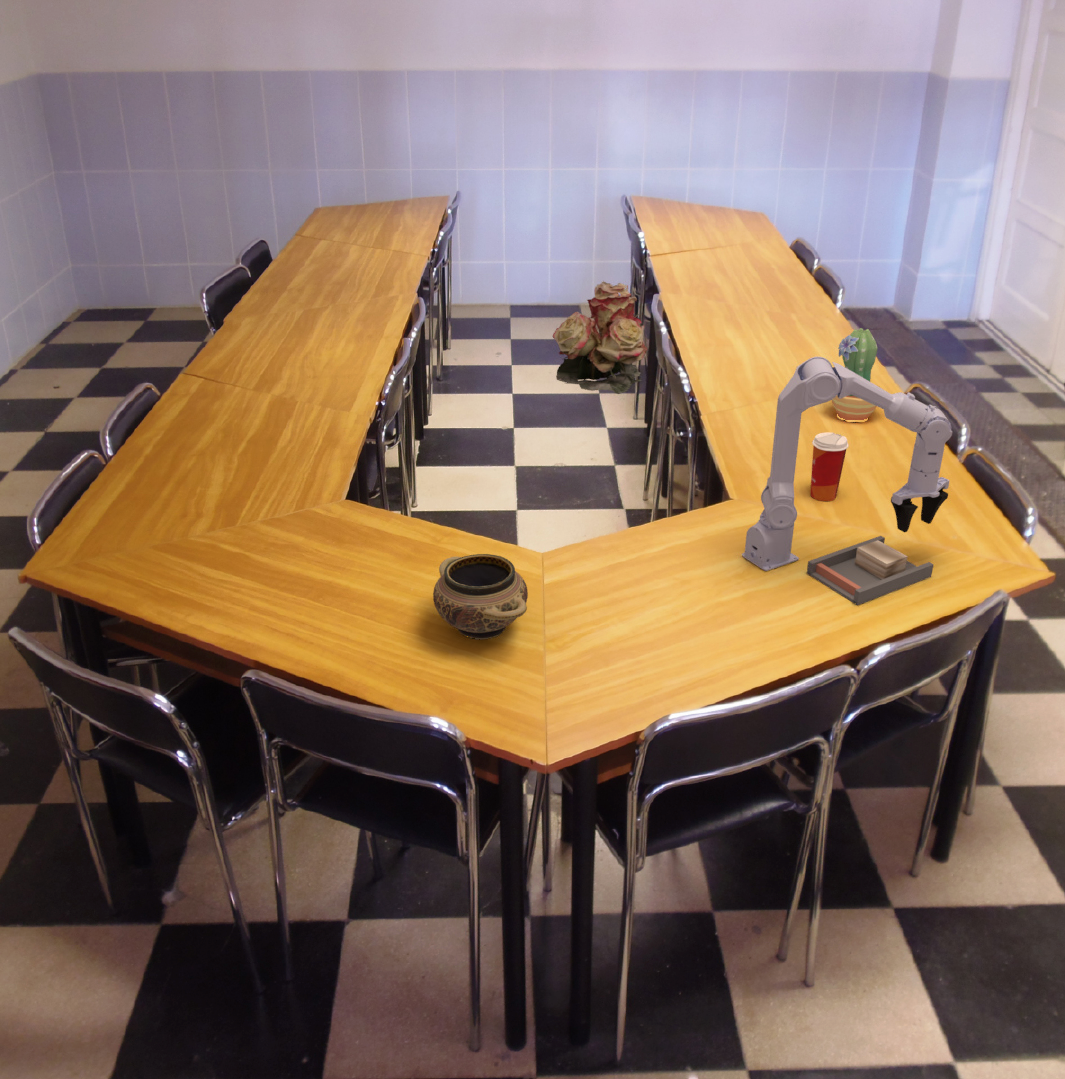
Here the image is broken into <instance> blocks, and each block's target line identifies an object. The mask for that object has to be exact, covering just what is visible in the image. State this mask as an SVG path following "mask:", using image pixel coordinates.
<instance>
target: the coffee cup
mask: <svg viewBox="0 0 1065 1079" xmlns="http://www.w3.org/2000/svg"><path fill="white" fill-rule="evenodd" d="M811 442H812V446H813V447H812V448H813V449H812V459H811V460H812V462H811V476H810V477H811V478H810V479H811V480H810V496H811V498H812V499H813V500H815V501H819V502H831V501H834V500H836V498H837V496H838V490H839V486H840V481H841V476H842V473H843V466H844V464H845V463H844V462H845V458H846V452H847V449H848V448H849V443H848V439H847V437H846V436H845V435H841V434H838V433H835V432H826V431H825V432H820V433H818V434H816V435H815V436H814V439H813V440H812V441H811Z"/></svg>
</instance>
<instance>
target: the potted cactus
mask: <svg viewBox="0 0 1065 1079" xmlns="http://www.w3.org/2000/svg"><path fill="white" fill-rule="evenodd" d="M878 348H879V347H878V345H877V341H876V339H875V338H874V336H873V334H872V333H871V331H870V329H869V328H867V329H864V328H862V327H860V328H858V329H854V330H853V331H852V332H851V333H850V334H848V335H847V336H846V337H844V338H842V339H841V341H840V342H839V344H838V357H839V358H840V357H841V356H842V357H841V358H842V361H843V365H844V367H845V368H847V369H849V370H851V371H852V372H854V373H856V374H857V375H859V376H861V377H863V378H864V379H866V380H868V381H869V382H871V379H872V378H871V376H872V369H873V367H874V364H875V362H876V358H877V353H878V350H879V349H878ZM875 385H876V386H878V387H880V388H882V387H881V386H880V385H877V384H875ZM831 404H832V406H833V408H834V410H835V411H836V415H837V414H838V416H839V417H840V418H843V419H845V420H864V419H867V418H868V416H869V417H870V416H871V414H873V413H874V411H875V410H876V408H877V406H875V405H873V404H871V403H869V402H867V401H864V400H862V399H860V398H858V397H856V396H854V395H848V396H846V397H844V398H841V399H839V398H838V396H836V397H835V398H833V399H832V400H831Z"/></svg>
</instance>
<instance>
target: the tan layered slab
mask: <svg viewBox="0 0 1065 1079" xmlns="http://www.w3.org/2000/svg"><path fill="white" fill-rule="evenodd" d="M856 553H857V554H856V559H855V564H856V565H858V566H859V567H861V568H863V569H864V570H866V571H868V572H869V573H871V574H873V575H875V576H876V577H878V578H880V579H881V580H883V579H885V578H888V577H890V576H893V575H896V574H898V573H901V572H904V571H905V569H906V568H905V567H906V562H907V561H908V555H905V554H904V553H902V552H901V551H899V550H897V549H895V548H893V547H891V546H890V545H887V543H886V544H885V542H884V543H882V542H881V541H879V540H877V541H875V542H872V543H869V544H866V545H863V546H860V547H858V548H857V552H856Z"/></svg>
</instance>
